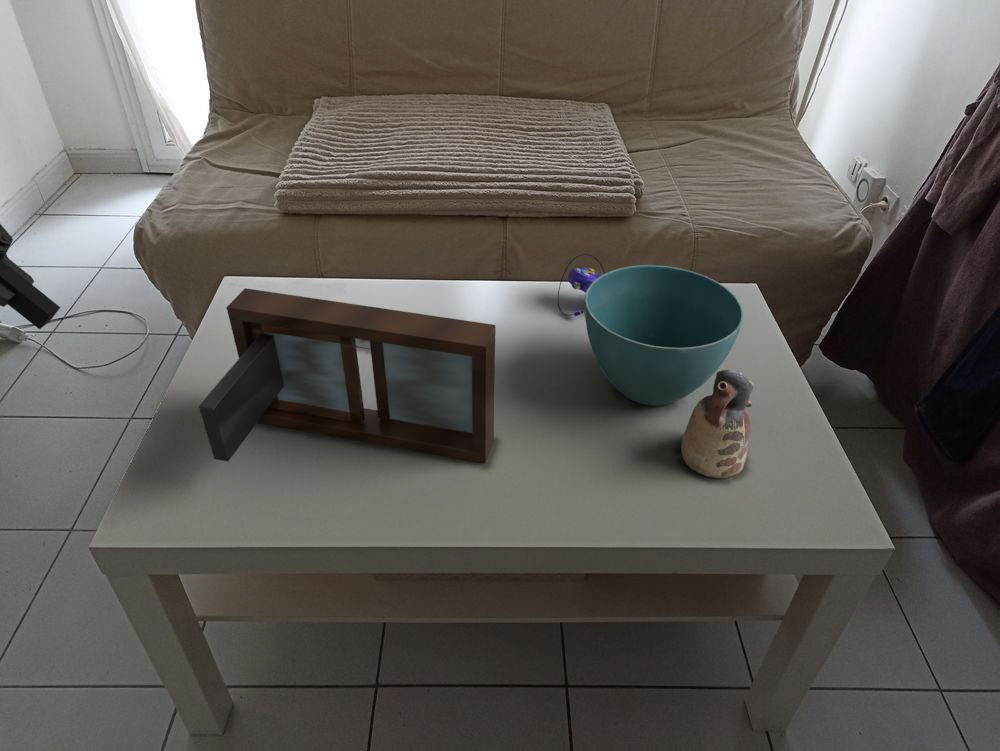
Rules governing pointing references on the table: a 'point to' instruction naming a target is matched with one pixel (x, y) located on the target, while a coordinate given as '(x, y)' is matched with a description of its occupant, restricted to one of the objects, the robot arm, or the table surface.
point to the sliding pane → (283, 384)
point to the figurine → (720, 428)
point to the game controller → (581, 280)
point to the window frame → (393, 372)
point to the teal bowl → (660, 330)
